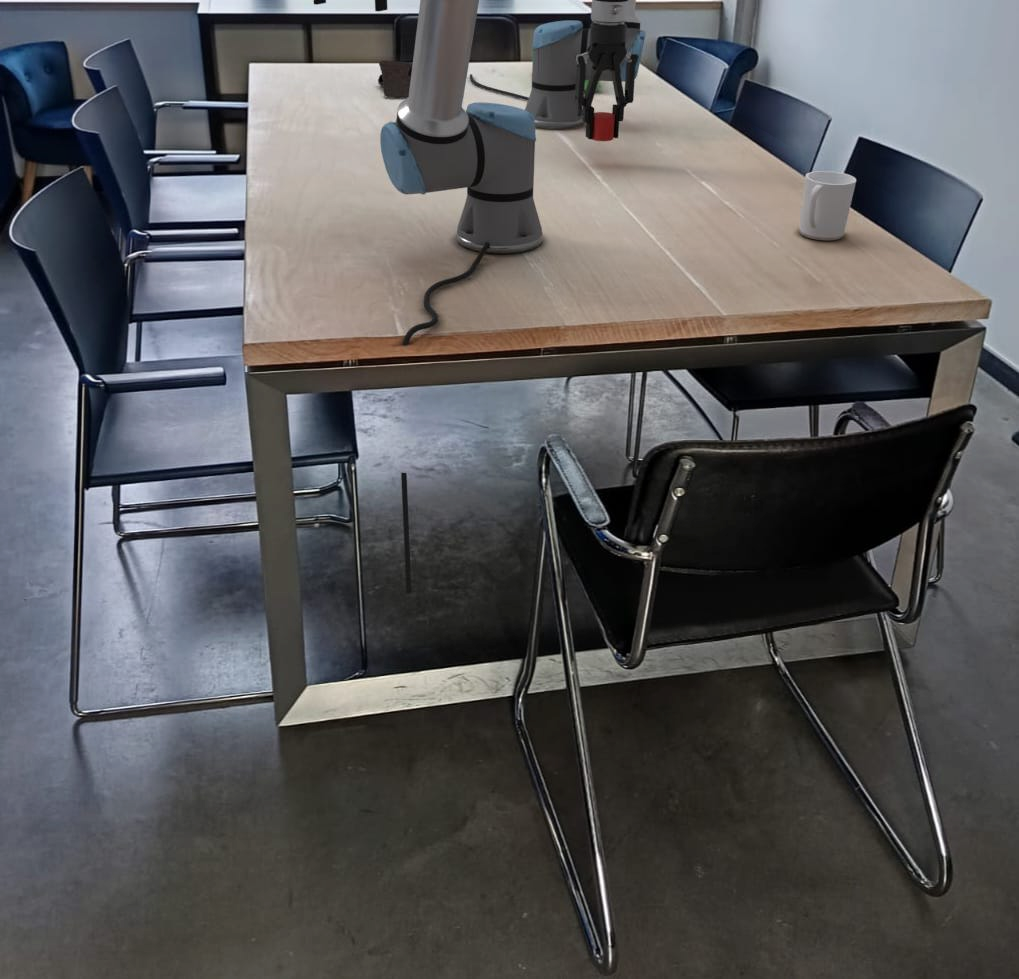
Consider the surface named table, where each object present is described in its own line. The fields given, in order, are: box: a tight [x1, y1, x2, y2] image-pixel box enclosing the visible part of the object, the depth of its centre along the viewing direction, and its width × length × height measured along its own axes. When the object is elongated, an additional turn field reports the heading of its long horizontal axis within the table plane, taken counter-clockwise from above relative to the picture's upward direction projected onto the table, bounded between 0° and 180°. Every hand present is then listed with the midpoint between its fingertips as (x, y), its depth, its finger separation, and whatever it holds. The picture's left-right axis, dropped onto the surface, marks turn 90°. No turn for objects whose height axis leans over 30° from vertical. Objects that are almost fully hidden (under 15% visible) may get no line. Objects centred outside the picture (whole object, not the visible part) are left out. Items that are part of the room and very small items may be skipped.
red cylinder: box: [591, 111, 615, 142], centre depth 237 cm, size 5×5×5 cm
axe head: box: [377, 59, 413, 99], centre depth 299 cm, size 18×8×15 cm
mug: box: [798, 170, 857, 241], centre depth 199 cm, size 11×9×10 cm
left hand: (350, 7), depth 197 cm, fingers open, 13 cm apart
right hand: (601, 137), depth 238 cm, fingers closed on red cylinder, 5 cm apart
